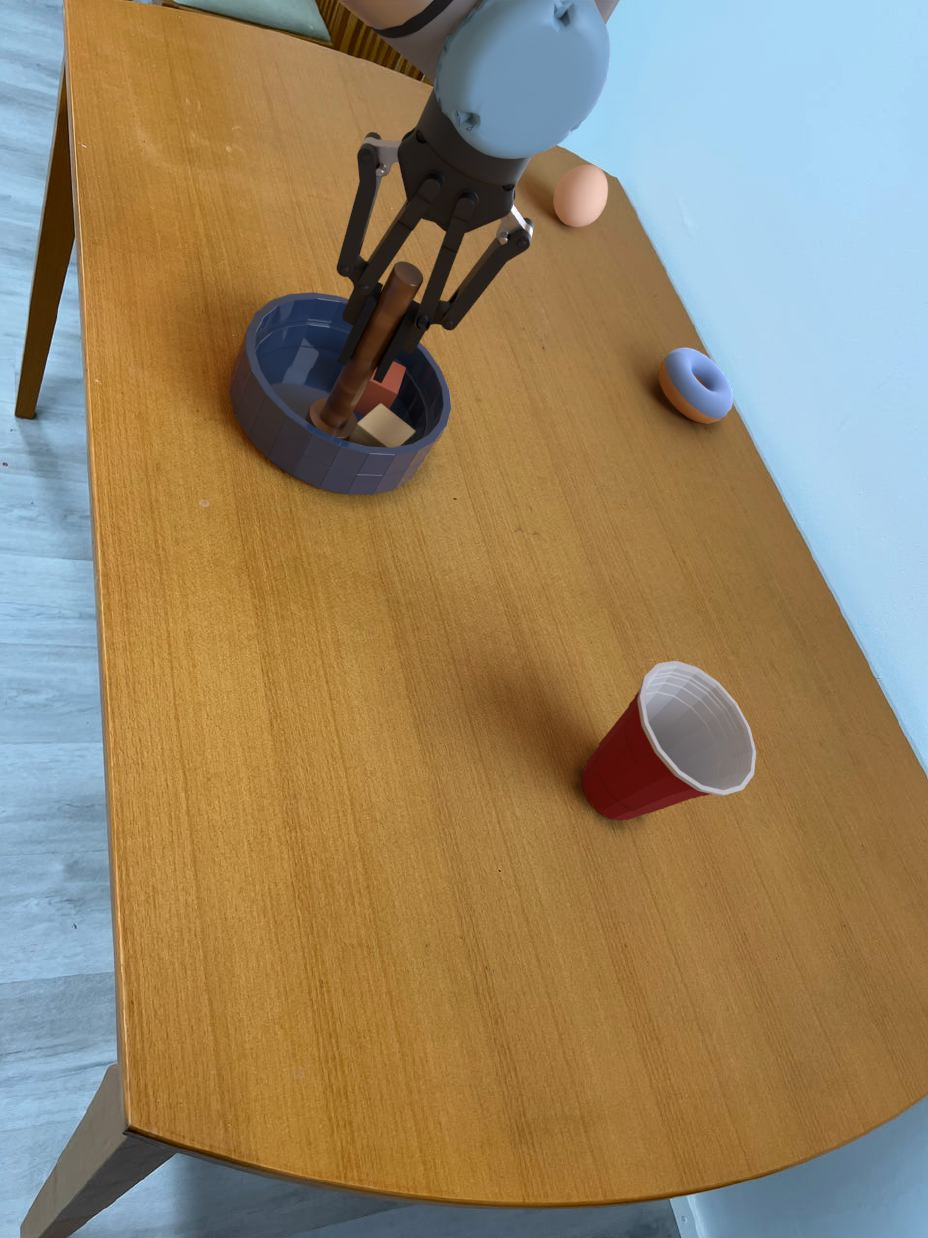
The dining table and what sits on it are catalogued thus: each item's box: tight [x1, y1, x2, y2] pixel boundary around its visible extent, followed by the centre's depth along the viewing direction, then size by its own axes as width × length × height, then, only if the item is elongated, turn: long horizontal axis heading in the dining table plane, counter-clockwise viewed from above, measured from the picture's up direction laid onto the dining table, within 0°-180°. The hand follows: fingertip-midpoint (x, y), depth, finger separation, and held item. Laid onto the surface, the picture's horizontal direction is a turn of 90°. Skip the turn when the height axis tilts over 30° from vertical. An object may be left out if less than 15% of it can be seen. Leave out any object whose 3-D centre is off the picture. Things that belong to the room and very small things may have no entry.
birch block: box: [348, 403, 416, 448], centre depth 85 cm, size 4×4×4 cm
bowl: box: [228, 291, 452, 496], centre depth 86 cm, size 19×19×6 cm
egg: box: [552, 163, 609, 228], centre depth 124 cm, size 7×7×8 cm
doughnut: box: [657, 347, 734, 425], centre depth 115 cm, size 10×10×5 cm
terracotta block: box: [354, 361, 406, 416], centre depth 89 cm, size 4×4×4 cm
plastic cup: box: [581, 660, 757, 822], centre depth 75 cm, size 11×11×12 cm
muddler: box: [306, 260, 424, 441], centre depth 78 cm, size 4×4×18 cm
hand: (363, 362), depth 79 cm, fingers closed on muddler, 2 cm apart
